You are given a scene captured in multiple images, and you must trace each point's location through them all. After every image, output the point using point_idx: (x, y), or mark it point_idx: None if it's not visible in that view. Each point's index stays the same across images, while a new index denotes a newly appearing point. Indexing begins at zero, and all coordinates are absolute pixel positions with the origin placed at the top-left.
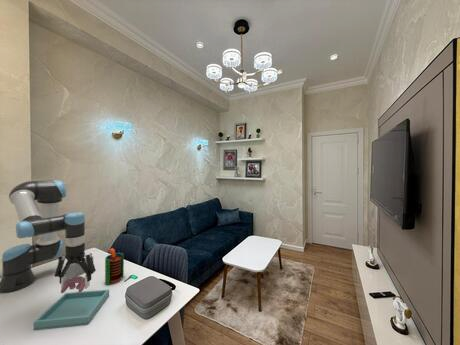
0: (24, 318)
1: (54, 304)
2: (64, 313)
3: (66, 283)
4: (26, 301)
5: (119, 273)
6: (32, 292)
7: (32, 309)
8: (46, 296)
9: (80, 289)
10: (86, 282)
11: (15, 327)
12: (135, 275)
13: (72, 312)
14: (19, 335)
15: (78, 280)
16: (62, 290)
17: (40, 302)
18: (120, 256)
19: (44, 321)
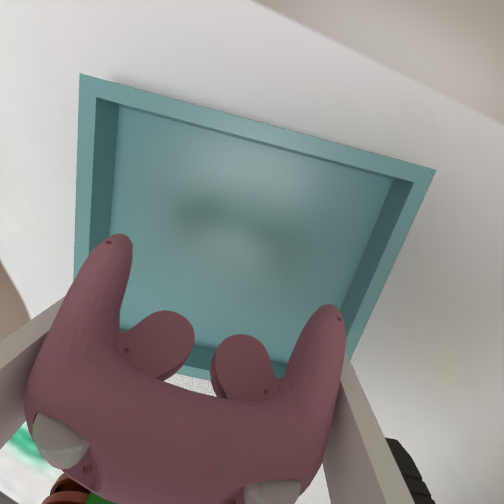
0: (475, 292)
1: (359, 316)
2: (284, 243)
3: (308, 414)
4: (496, 421)
5: (57, 480)
6: (486, 477)
7: (455, 351)
8: (417, 428)
9: (93, 250)
10: (5, 338)
11: (500, 232)
12: (21, 449)
13: (241, 234)
14: (465, 150)
15: (114, 408)
16: (327, 321)
17: (433, 392)
18: None
19: (370, 153)
